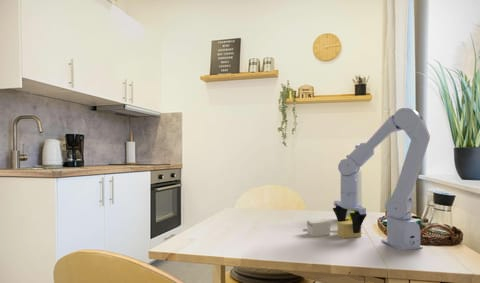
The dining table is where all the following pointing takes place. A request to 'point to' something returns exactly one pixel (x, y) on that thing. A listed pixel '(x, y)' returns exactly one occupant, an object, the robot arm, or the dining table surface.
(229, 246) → the dining table surface
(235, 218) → the dining table surface
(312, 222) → the cream brick
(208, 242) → the dining table surface
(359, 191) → the paper towel roll
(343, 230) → the ochre brick
